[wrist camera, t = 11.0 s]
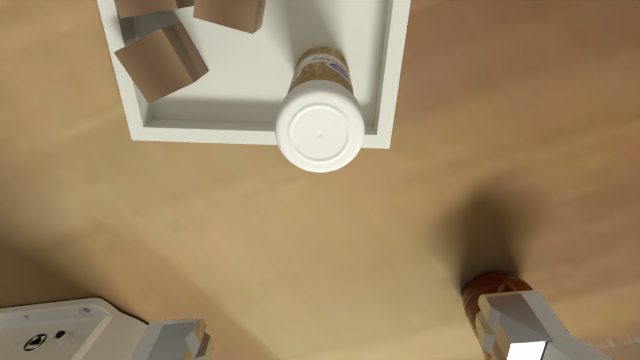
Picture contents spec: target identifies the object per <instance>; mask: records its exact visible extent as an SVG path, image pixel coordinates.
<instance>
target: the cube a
mask: <svg viewBox="0 0 640 360" xmlns="http://www.w3.org/2000/svg"><path fill="white" fill-rule="evenodd" d="M114 2H115V5H116V8H117V10H118V13H119V15H120V18H124V17H130V16H137V15H143V14H149V13H155V12H161V11H167V10H174V9H180V8H186V7H192V6H194V0H114Z"/></svg>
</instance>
